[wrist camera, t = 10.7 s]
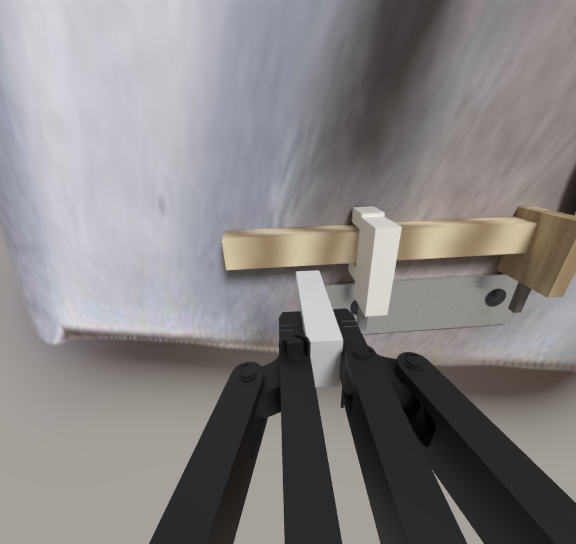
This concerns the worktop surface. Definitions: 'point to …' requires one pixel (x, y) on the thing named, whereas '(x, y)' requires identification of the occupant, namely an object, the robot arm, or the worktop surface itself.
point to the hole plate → (435, 302)
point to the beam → (431, 247)
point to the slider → (374, 262)
